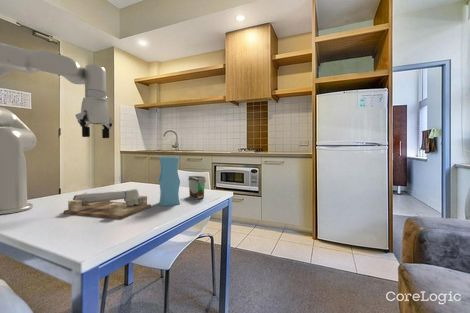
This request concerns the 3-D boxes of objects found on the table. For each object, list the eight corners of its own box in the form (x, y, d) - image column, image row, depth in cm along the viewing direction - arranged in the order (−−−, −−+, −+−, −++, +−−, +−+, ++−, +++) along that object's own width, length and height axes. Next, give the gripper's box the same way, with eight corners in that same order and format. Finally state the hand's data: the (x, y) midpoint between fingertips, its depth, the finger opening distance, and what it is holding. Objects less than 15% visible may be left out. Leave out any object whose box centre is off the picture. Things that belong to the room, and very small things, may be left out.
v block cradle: (63, 213, 80) (63, 201, 80) (100, 203, 96) (100, 192, 96) (121, 219, 74) (121, 205, 74) (151, 207, 90) (150, 196, 90)
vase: (158, 201, 99) (158, 157, 98) (176, 200, 102) (176, 156, 101) (160, 206, 91) (160, 157, 91) (180, 204, 95) (179, 157, 94)
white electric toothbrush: (81, 192, 88) (142, 184, 87) (83, 209, 88) (144, 201, 87) (70, 195, 83) (135, 187, 82) (73, 213, 83) (138, 205, 82)
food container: (210, 198, 105) (210, 177, 105) (198, 200, 101) (198, 178, 101) (199, 194, 115) (199, 175, 115) (188, 195, 112) (188, 176, 111)
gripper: (105, 101, 102) (105, 138, 102) (68, 91, 85) (69, 136, 85) (119, 100, 100) (119, 138, 100) (84, 90, 83) (84, 136, 84)
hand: (96, 137), depth 93 cm, fingers open, 9 cm apart
